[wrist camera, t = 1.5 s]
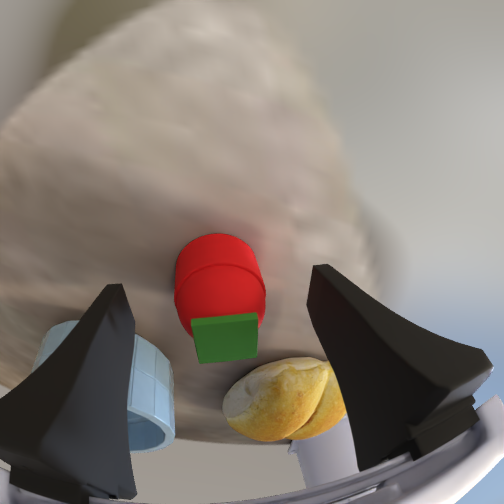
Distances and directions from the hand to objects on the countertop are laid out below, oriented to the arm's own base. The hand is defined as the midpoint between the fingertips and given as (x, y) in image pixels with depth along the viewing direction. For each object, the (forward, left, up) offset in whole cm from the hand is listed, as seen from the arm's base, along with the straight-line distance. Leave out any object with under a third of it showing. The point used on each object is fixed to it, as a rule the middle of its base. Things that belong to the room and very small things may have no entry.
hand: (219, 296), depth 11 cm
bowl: (-6, +7, -2) cm, 9 cm away
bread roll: (-11, -4, -2) cm, 12 cm away
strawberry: (0, 0, -2) cm, 2 cm away
